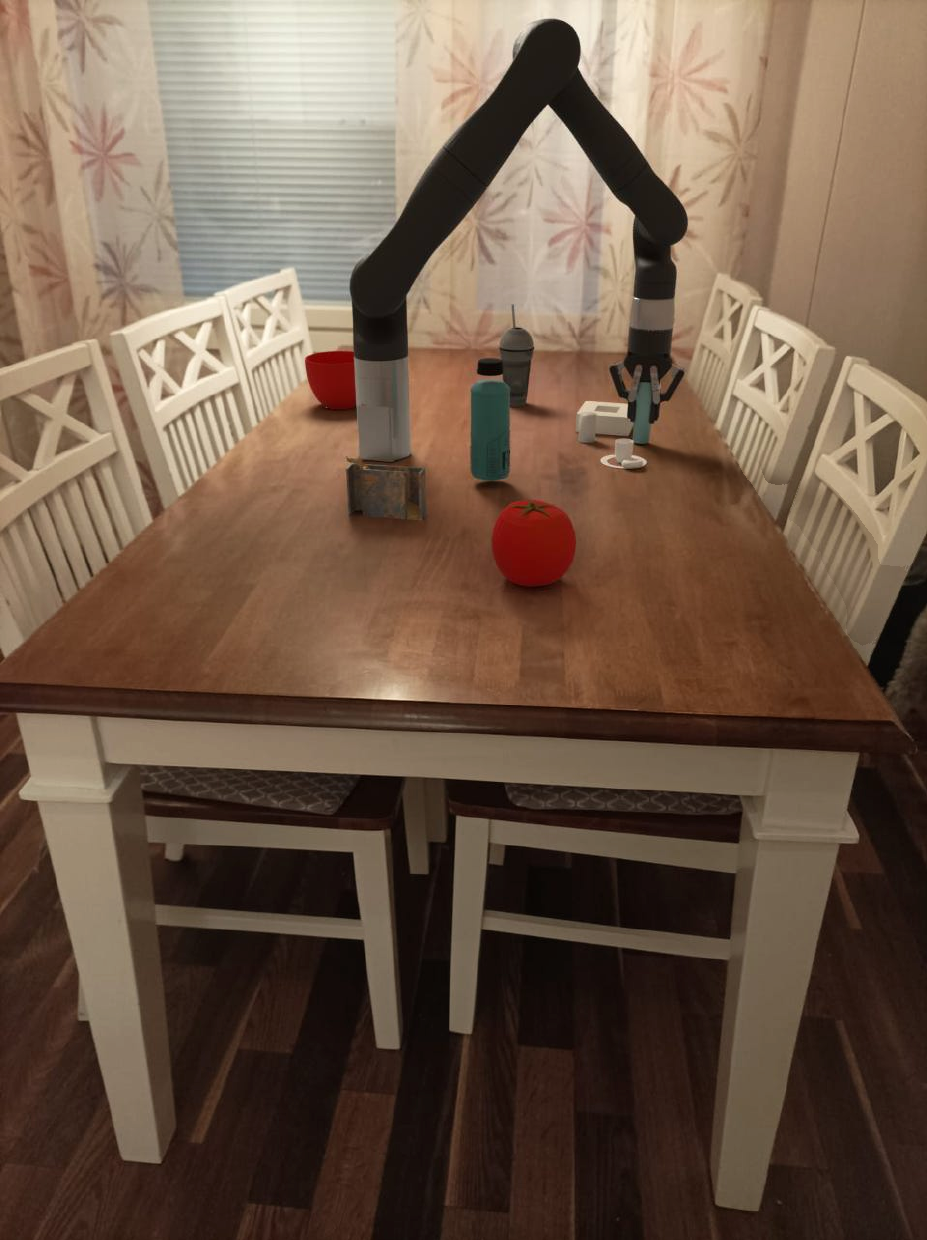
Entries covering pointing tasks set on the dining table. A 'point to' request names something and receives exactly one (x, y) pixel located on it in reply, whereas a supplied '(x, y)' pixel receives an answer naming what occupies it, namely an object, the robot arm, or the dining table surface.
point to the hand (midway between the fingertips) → (642, 421)
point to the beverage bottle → (490, 423)
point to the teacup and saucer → (624, 455)
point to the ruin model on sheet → (386, 490)
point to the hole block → (608, 418)
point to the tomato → (533, 543)
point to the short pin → (587, 427)
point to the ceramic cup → (332, 378)
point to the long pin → (643, 413)
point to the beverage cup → (516, 362)
